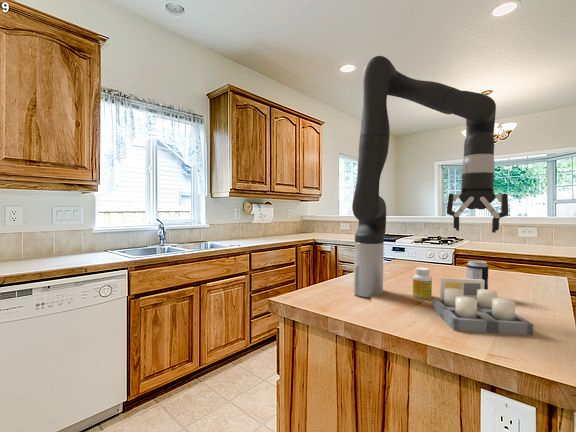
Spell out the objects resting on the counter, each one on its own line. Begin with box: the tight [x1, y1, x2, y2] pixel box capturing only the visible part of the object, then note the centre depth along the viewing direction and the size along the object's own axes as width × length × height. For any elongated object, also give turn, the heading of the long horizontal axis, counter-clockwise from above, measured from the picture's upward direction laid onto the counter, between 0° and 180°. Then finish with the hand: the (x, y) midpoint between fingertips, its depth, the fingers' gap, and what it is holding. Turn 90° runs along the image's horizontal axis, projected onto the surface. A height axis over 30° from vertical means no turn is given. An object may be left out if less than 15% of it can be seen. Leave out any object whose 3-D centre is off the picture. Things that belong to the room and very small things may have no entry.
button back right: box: [477, 289, 498, 309], centre depth 79 cm, size 4×4×4 cm
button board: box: [432, 277, 534, 336], centre depth 76 cm, size 16×18×9 cm
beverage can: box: [466, 259, 489, 290], centre depth 96 cm, size 6×6×12 cm
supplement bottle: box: [412, 267, 433, 300], centre depth 96 cm, size 5×5×10 cm
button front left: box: [455, 296, 477, 319], centre depth 72 cm, size 4×4×4 cm
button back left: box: [444, 288, 463, 307], centre depth 80 cm, size 4×4×4 cm
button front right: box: [492, 297, 516, 321], centre depth 71 cm, size 4×4×4 cm
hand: (475, 231), depth 84 cm, fingers open, 8 cm apart
